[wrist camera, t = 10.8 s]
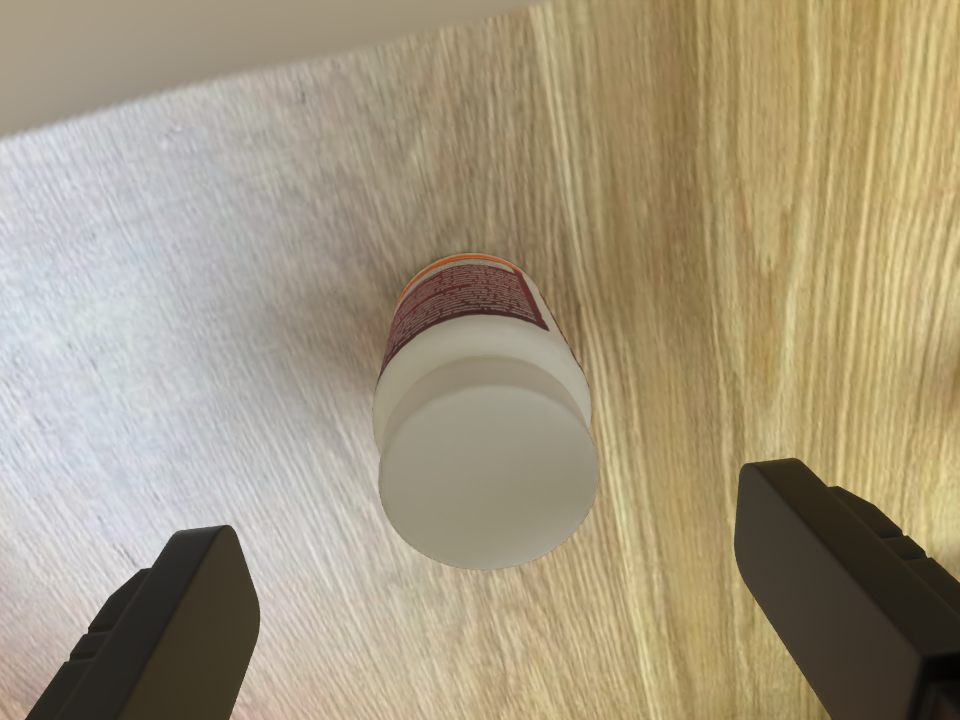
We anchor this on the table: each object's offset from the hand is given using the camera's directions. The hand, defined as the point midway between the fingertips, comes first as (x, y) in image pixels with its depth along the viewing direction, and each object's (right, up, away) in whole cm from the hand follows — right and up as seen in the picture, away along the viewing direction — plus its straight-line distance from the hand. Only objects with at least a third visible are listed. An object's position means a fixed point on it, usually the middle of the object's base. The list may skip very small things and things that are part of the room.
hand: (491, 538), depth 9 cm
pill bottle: (0, +4, +9) cm, 10 cm away
